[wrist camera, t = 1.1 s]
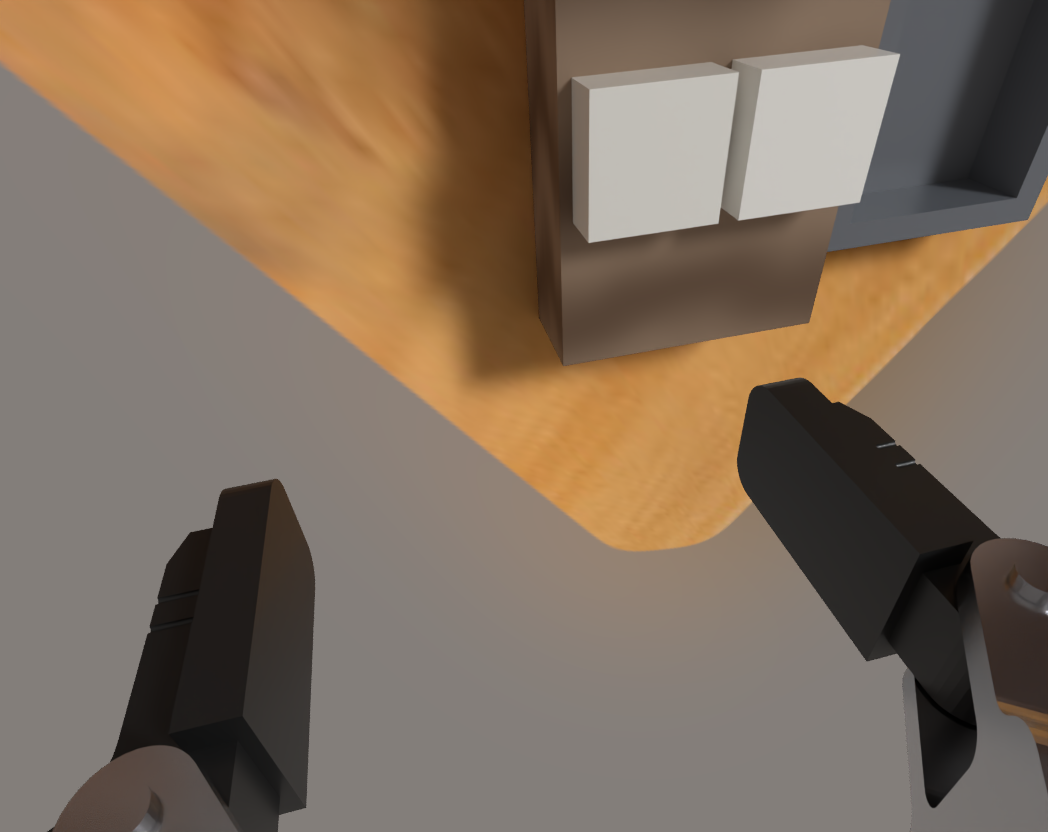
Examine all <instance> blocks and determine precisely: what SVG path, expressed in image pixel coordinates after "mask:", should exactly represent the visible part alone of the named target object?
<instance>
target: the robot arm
mask: <svg viewBox="0 0 1048 832" xmlns="http://www.w3.org/2000/svg"><path fill="white" fill-rule="evenodd" d="M737 467H738V473H739V477H740V480H741V483H742V485H743V488H744V490H745V491H746V493H747V495H748V496H749V497H750V499H751V500H752V502H753V503H754V504H755V506H756V507H757V509H758V510H759V511H760V513H761V514H762V516H763V517H764V518H765V520H766V521H767V523H768V524H769V525H770V527H771V528H772V529H773V531H774V532H775V534H776V535H777V537H778V538H779V539H780V541H781V542H782V543H783V545H784V546H785V548H786V549H787V550H788V552H789V553H790V554H791V556H792V558H793V559H794V560H795V562H796V563H797V565H798V566H799V567H800V569H801V570H802V572H803V573H804V574H805V576H806V577H807V579H808V580H809V581H810V583H811V584H812V585H813V587H814V588H815V589H816V591H817V592H818V594H819V595H820V597H821V598H822V599H823V601H824V602H825V604H826V605H827V606H828V608H829V609H830V611H831V612H832V613H833V615H834V616H835V617H836V619H837V620H838V622H839V623H840V625H841V626H842V627H843V629H844V630H845V632H846V633H847V634H848V636H849V637H850V639H851V640H852V641H853V643H854V644H855V646H856V647H857V648H858V650H859V651H860V652H861V654H862V655H863V657H864V658H865V660H866V661H870V660H874V659H878V658H882V657H886V656H889V655H893V654H898V655H899V657H900V658H901V659H902V661H903V662H904V663H905V664H906V666H907V669H906V671H905V672H904V676H903V683H902V685H903V686H902V687H903V700H904V713H905V726H906V739H907V752H908V765H909V778H910V790H911V804H912V820H911V828H910V832H1048V546H1045V545H1042V544H1039V543H1036V542H1032V541H1028V540H1022V539H1016V538H1000V537H998V536H997V535H996V534H995V533H994V532H993V531H992V530H991V529H990V528H988V527H987V526H986V525H985V524H984V523H983V522H982V521H981V520H980V519H979V518H978V517H977V516H976V515H975V514H973V513H972V512H971V511H970V510H969V509H968V508H967V507H966V506H965V505H964V504H963V503H962V502H960V501H959V500H958V499H957V498H956V497H955V496H954V495H953V494H952V493H951V492H950V491H949V490H948V489H947V488H945V487H944V486H943V485H942V484H941V483H940V482H939V481H938V480H937V479H936V478H935V477H934V476H933V475H931V474H930V473H929V472H928V471H927V470H926V469H925V468H924V467H923V466H922V465H921V464H918V465H917V464H916V463H915V459H914V458H913V457H912V456H911V455H910V454H909V453H908V452H907V451H906V450H904V449H903V448H902V447H901V446H900V445H899V446H896V444H895V440H894V439H892V437H890V436H889V435H888V434H887V433H886V432H885V431H884V430H883V429H882V428H881V427H880V426H879V425H877V424H876V423H875V422H874V421H873V420H872V419H871V418H869V417H867V416H865V415H863V414H861V413H859V412H857V411H855V410H853V409H852V408H850V407H848V406H846V405H844V404H842V403H840V402H836V403H831V402H830V401H829V400H828V399H827V398H826V397H825V396H824V395H823V394H822V393H821V392H820V391H819V390H818V389H817V388H816V387H815V386H814V385H813V384H812V383H811V382H809V381H808V380H806V379H804V378H795V379H790V380H785V381H780V382H774V383H769V384H764V385H759V386H756V387H754V388H753V389H752V391H751V393H750V395H749V399H748V404H747V409H746V414H745V419H744V425H743V430H742V435H741V440H740V445H739V451H738V457H737ZM314 599H315V576H314V567H313V561H312V557H311V553H310V550H309V546H308V544H307V542H306V539H305V537H304V535H303V532H302V530H301V527H300V525H299V522H298V520H297V518H296V515H295V513H294V511H293V508H292V506H291V503H290V501H289V499H288V496H287V494H286V492H285V489H284V487H283V485H282V483H281V482H280V481H279V480H278V479H273V480H268V481H262V482H257V483H252V484H248V485H242V486H237V487H232V488H227V489H224V490H223V491H222V492H221V494H220V497H219V501H218V505H217V510H216V515H215V519H214V524H213V528H210V529H205V530H200V531H195V532H190V533H189V535H188V536H187V538H186V539H185V540H184V541H183V543H182V544H181V546H180V547H179V548H178V550H177V551H176V552H175V554H174V555H173V557H172V558H171V559H170V561H169V562H168V563H167V565H166V569H165V573H164V576H163V580H162V583H161V587H160V591H159V594H158V604H157V605H155V609H154V612H153V616H152V620H151V623H150V628H151V632H150V633H148V634H147V638H146V641H145V645H144V649H143V652H142V656H141V660H140V663H139V667H138V670H137V674H136V678H135V682H134V685H133V689H132V693H131V696H130V700H129V703H128V707H127V711H126V714H125V718H124V721H123V725H122V729H121V732H120V736H119V740H118V743H117V746H116V749H115V752H114V755H113V757H112V759H111V761H110V763H108V764H107V765H106V766H104V767H103V768H101V769H100V770H99V771H98V772H96V773H95V774H94V775H93V776H92V777H90V778H89V779H88V780H87V782H86V783H85V784H83V786H82V787H81V788H80V789H79V790H78V791H77V792H76V793H75V795H74V796H73V797H72V798H71V800H70V801H69V802H68V804H67V805H66V807H65V808H64V810H63V811H62V813H61V815H60V816H59V819H58V821H57V823H56V825H55V827H53V828H52V829H51V830H49V831H48V832H278V820H279V815H281V814H284V813H288V812H292V811H295V810H299V809H303V808H306V796H307V773H308V747H309V722H310V699H311V675H312V650H313V625H314Z"/></svg>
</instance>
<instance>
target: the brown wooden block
mask: <svg viewBox="0 0 1048 832" xmlns="http://www.w3.org/2000/svg"><path fill="white" fill-rule="evenodd" d="M890 2H891V0H524V11H525V32H526V53H527V74H528V95H529V116H530V137H531V158H532V179H533V200H534V221H535V242H536V263H537V284H538V305H539V319H540V321H541V323H542V325H543V327H544V329H545V331H546V333H547V335H548V337H549V338H550V340H551V342H552V344H553V346H554V348H555V350H556V352H557V354H558V356H559V358H560V360H561V362H562V364H563V366H567V365H572V364H578V363H584V362H589V361H595V360H601V359H606V358H612V357H618V356H623V355H629V354H635V353H640V352H646V351H652V350H657V349H663V348H669V347H674V346H680V345H686V344H692V343H697V342H703V341H709V340H714V339H720V338H726V337H731V336H737V335H743V334H748V333H754V332H760V331H765V330H771V329H777V328H782V327H788V326H794V325H799V324H805V323H809V321H810V317H811V313H812V309H813V305H814V301H815V297H816V293H817V289H818V285H819V281H820V278H821V274H822V270H823V266H824V262H825V258H826V254H827V250H828V246H829V242H830V238H831V234H832V230H833V226H834V222H835V218H836V214H837V211H838V207H839V206H833V207H826V208H820V209H813V210H806V211H799V212H793V213H786V214H779V215H773V216H766V217H759V218H753V219H746V220H739V221H738V220H737V219H736V218H734V217H733V216H732V215H730V214H729V213H728V212H726V211H725V210H724V209H722V208H720V215H719V223H718V224H712V225H706V226H699V227H692V228H686V229H679V230H672V231H665V232H659V233H652V234H645V235H639V236H632V237H625V238H619V239H612V240H605V241H598V242H592V243H588V242H587V240H586V239H585V238H584V236H583V235H582V234H581V233H580V231H579V230H578V229H577V227H576V226H575V225H574V224H573V183H572V77H580V76H589V75H598V74H607V73H616V72H625V71H634V70H643V69H652V68H661V67H670V66H679V65H688V64H697V63H706V62H713V63H715V64H718V65H721V66H723V67H726V68H729V69H732V61H733V59H742V58H751V57H760V56H769V55H778V54H787V53H796V52H805V51H814V50H823V49H832V48H841V47H850V46H859V45H864V46H868V47H872V48H877V49H879V45H880V41H881V37H882V33H883V29H884V25H885V21H886V17H887V13H888V10H889V6H890Z"/></svg>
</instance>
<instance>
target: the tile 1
mask: <svg viewBox="0 0 1048 832" xmlns="http://www.w3.org/2000/svg"><path fill="white" fill-rule="evenodd" d="M738 77H739V72H737V71H734V70H731V69H729V68H726V67H723V66H721V65H718V64H715V63H713V62H706V63H697V64H688V65H679V66H670V67H661V68H652V69H643V70H634V71H625V72H616V73H607V74H598V75H589V76H580V77H572V183H573V224H574V225H575V226H576V227H577V229H578V230H579V231H580V233H581V234H582V235H583V236H584V238H585V239H586V240H587V242H588V243H592V242H598V241H605V240H612V239H619V238H625V237H632V236H639V235H645V234H652V233H659V232H665V231H672V230H679V229H686V228H692V227H699V226H706V225H712V224H718V223H719V215H720V208H721V201H722V194H723V186H724V179H725V172H726V164H727V157H728V150H729V143H730V135H731V128H732V121H733V113H734V106H735V99H736V92H737V84H738Z"/></svg>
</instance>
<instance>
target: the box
mask: <svg viewBox="0 0 1048 832" xmlns="http://www.w3.org/2000/svg"><path fill="white" fill-rule="evenodd" d="M879 49H881V50H885V51H890V52H894V53H898V54H900V57H899V61H898V64H897V68H896V72H895V75H894V79H893V83H892V86H891V90H890V94H889V97H888V101H887V105H886V108H885V112H884V115H883V119H882V123H881V126H880V130H879V134H878V137H877V141H876V145H875V148H874V152H873V156H872V159H871V163H870V167H869V170H868V174H867V178H866V181H865V185H864V189H863V192H862V196H861V200H860V203H853V204H846V205H840V206H839V207H838V211H837V214H836V218H835V222H834V226H833V230H832V234H831V238H830V242H829V246H828V250H827V252H830V251H836V250H842V249H849V248H855V247H861V246H867V245H874V244H880V243H886V242H892V241H899V240H905V239H911V238H917V237H924V236H930V235H936V234H942V233H949V232H955V231H961V230H967V229H974V228H980V227H986V226H992V225H999V224H1005V223H1011V222H1017V221H1024V220H1028V218H1029V216H1030V214H1031V212H1032V209H1033V207H1034V205H1035V203H1036V200H1037V198H1038V196H1039V194H1040V191H1041V189H1042V187H1043V185H1044V182H1045V180H1046V178H1047V176H1048V0H891V2H890V6H889V10H888V13H887V17H886V21H885V25H884V29H883V33H882V37H881V41H880V45H879Z"/></svg>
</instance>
